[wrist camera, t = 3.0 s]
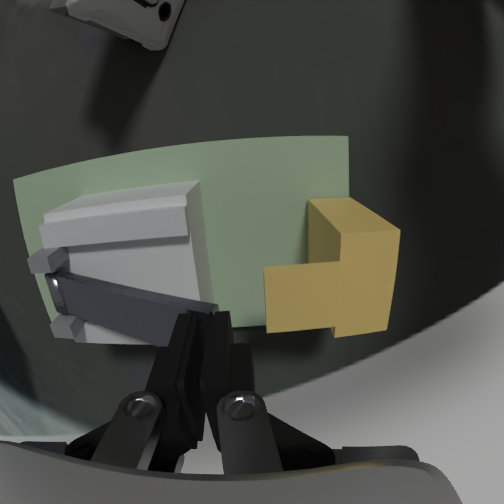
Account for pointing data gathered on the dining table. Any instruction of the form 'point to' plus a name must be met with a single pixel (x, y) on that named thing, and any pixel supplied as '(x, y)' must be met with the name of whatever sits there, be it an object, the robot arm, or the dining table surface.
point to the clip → (336, 273)
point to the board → (180, 221)
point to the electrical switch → (126, 18)
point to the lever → (124, 306)
